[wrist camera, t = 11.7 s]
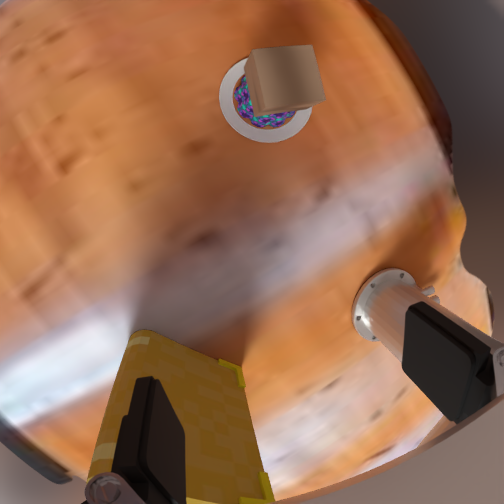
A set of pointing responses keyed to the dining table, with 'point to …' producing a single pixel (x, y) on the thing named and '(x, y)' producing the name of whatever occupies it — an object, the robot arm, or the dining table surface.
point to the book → (193, 420)
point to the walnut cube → (283, 79)
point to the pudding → (247, 112)
